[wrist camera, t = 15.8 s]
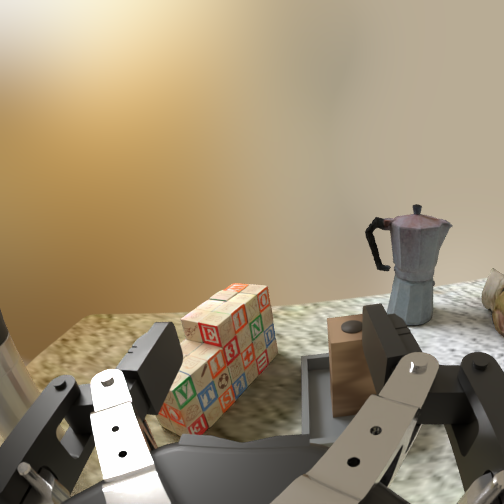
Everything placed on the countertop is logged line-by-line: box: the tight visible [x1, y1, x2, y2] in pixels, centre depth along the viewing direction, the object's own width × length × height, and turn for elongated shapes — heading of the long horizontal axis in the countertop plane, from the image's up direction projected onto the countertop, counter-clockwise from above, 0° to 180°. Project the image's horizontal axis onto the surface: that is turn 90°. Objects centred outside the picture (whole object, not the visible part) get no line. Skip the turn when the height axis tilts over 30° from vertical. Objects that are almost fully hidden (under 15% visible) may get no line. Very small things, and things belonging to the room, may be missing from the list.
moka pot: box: [365, 204, 452, 325], centre depth 47 cm, size 10×15×20 cm, turn 72°
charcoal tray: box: [301, 353, 377, 447], centre depth 33 cm, size 12×16×3 cm
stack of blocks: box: [156, 283, 278, 436], centre depth 40 cm, size 21×6×12 cm, turn 148°
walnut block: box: [327, 314, 376, 417], centre depth 32 cm, size 5×5×11 cm
